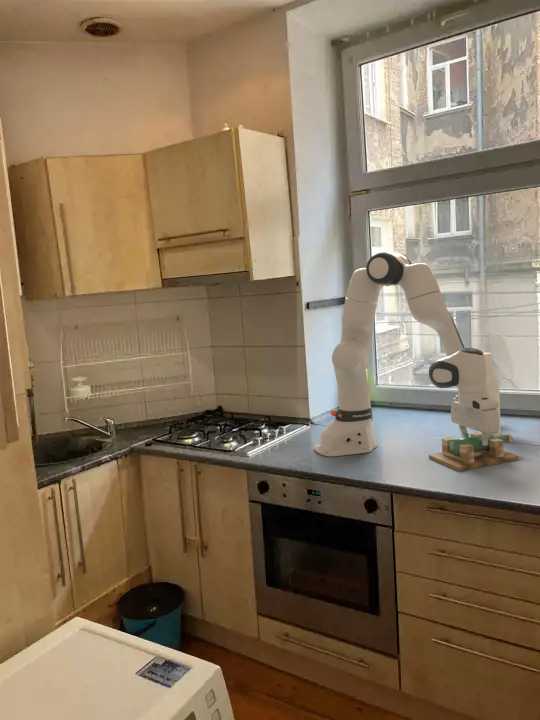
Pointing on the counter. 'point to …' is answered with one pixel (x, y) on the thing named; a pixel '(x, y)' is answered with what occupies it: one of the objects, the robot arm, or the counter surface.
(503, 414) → the counter surface
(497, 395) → the bottle
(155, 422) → the counter surface
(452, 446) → the bottle
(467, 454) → the bottle rest
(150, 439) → the counter surface
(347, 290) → the robot arm
